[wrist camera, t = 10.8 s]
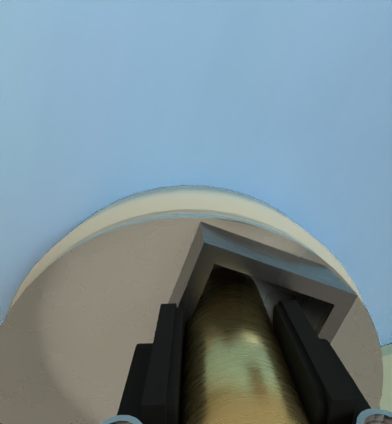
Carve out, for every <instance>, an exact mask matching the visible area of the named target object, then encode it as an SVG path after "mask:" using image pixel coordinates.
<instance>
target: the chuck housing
mask: <svg viewBox="0 0 392 424" xmlns="http://www.w3.org/2000/svg"><path fill="white" fill-rule="evenodd" d="M179 209H199V210H215V211H221V212H227V213H234V214H239V215H242V216H245V217H249V218H252V219H256V220H259V221H262V222H265V223H267V224H269V225H271V226H273V227H276V228H278V229H280V230H282V231H285V232H286V233H288V234H290V235H291V236H293V237H294V238H296V239H298V240H299V241H301V242H302V243H304V244H306V245H307V246H308V247H309V248H310V249H312V250H313V251H314V252H315V253H316V254H318V255H319V256H320V257H321V258H322V259H324V260H325V261H326V262H327V263H328V264H329V265H330V266H331V267H333V268H334V269H335V270H336V271H337V272H338V273H339V274H340V275H341V276H342V277H343V278H344V279H345V281H346V282H347V283H348V284H349V285H350V286H351V287H352V289H353V290H354V291H355V292H356V293H357V295H358V297H359V298H360V300H361V301H362V299H361V296H360V294H359V292H358V290H357V287H356V285H355V284H354V282H353V281H352V279H351V278H350V276H349V275H348V273H347V271H346V270H345V268H344V267H343V266H342V265H341V264H340V262H339V261H338V260H337V259H336V258H335V257H334V256H333V254H332V253H331V252H330V251H329V250H328V249H327V248H326V247H324V246H323V245H322V244H321V243H320V242H318V241H317V240H316V239H315V238H314V237H312V236H311V235H310V234H309V233H308V232H306V231H305V230H304V229H303V228H301V227H300V226H299V225H297V224H296V223H295V222H294V221H292V220H291V219H290V218H289V217H287V216H286V215H284V214H283V213H281V212H280V211H278V210H276V209H275V208H273V207H272V206H270V205H268V204H266V203H264V202H262V201H259V200H257V199H255V198H253V197H250V196H248V195H245V194H241V193H238V192H234V191H231V190H228V189H222V188H215V187H209V186H187V185H181V186H171V187H162V188H156V189H152V190H148V191H144V192H140V193H136V194H133V195H131V196H128V197H126V198H123V199H121V200H118V201H116V202H114V203H112V204H110V205H108V206H106V207H105V208H103V209H101V210H99V211H97V212H96V213H94V214H93V215H92V216H90V217H89V218H88V219H86V220H85V221H84V222H82V223H81V224H80V225H79V226H77V227H76V228H75V229H74V230H72V231H71V232H70V233H69V234H68V235H66V236H65V237H64V238H63V239H62V240H60V241H59V242H58V243H57V244H56V245H54V246H53V247H52V248H51V249H50V250H49V251H48V252H47V253H46V254H45V255H44V256H43V257H42V258H41V259H40V260H39V261H38V262H37V263H36V264H35V266H34V267H33V268H32V270H31V271H30V272H29V274H28V275H27V277H26V278H25V279H24V281H23V282H22V283H21V285H20V287H19V289H18V291H17V293H16V295H15V297H14V299H13V301H12V303H11V305H10V308H9V311H10V309H11V307H12V306H13V304H14V303H15V302H16V300H17V299H18V298H19V297H20V295H21V294H22V293H23V291H24V290H25V289H26V287H27V286H28V285H29V284H30V283H31V282H32V281H33V280H34V279H36V278H37V277H38V276H39V275H40V274H41V273H42V272H43V271H44V270H45V269H46V268H47V267H48V266H49V265H50V264H51V263H52V262H53V261H54V260H55V259H56V258H57V257H59V256H60V255H61V254H62V253H63V252H65V251H66V250H67V249H69V248H70V247H72V246H73V245H74V244H76V243H77V242H79V241H80V240H81V239H83V238H85V237H87V236H89V235H91V234H93V233H94V232H96V231H98V230H100V229H102V228H104V227H106V226H109V225H112V224H114V223H117V222H120V221H122V220H125V219H128V218H131V217H135V216H140V215H144V214H148V213H153V212H159V211H169V210H179ZM362 303H363V301H362ZM363 305H364V303H363ZM9 311H8V313H9Z"/></svg>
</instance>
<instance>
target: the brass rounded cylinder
mask: <svg viewBox="0 0 392 424" xmlns="http://www.w3.org/2000/svg"><path fill="white" fill-rule="evenodd" d="M181 424H310V422H309V419H308V417H307V414H306V412H305V409H304V406H303V404H302V401H301V399H300V396H299V393H298V391H297V388H296V386H295V383H294V380H293V378H292V375H291V373H290V370H289V367H288V365H287V362H286V360H285V357H284V354H283V352H282V349H281V347H280V344H279V341H278V339H277V336H276V334H275V331H274V328H273V326H272V323H271V320H270V318H269V315H268V313H267V310H266V307H265V305H264V302H263V300H262V297H261V294H260V292H259V289H258V287H257V285H256V283H255V282H254V281H253V279H252V278H251V277H249V276H248V275H246V274H243V273H240V272H237V271H234V270H231V269H228V268H216V269H212V271H211V273H210V276H209V278H208V280H207V283H206V285H205V287H204V290H203V292H202V294H201V297H200V299H199V301H198V304H197V306H196V308H195V311H194V313H193V315H192V318H191V320H190V321H189V323H188V326H187V328H186V332H185V347H184V366H183V386H182V406H181Z"/></svg>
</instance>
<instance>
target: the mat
mask: <svg viewBox="0 0 392 424" xmlns="http://www.w3.org/2000/svg"><path fill="white" fill-rule="evenodd" d="M381 352H382V360H383V374H384V375H383V387H382V396H381V400H380V404H379V408H378V409H382V410H387V411H389V412H392V344H388V345H385V346H381Z"/></svg>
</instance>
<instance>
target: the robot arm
mask: <svg viewBox="0 0 392 424" xmlns="http://www.w3.org/2000/svg"><path fill="white" fill-rule="evenodd" d="M272 326H273V328H274V331H275V334H276V336H277V339H278V341H279V344H280V347H281V349H282V352H283V354H284V357H285V360H286V362H287V365H288V367H289V370H290V373H291V375H292V378H293V380H294V383H295V386H296V388H297V391H298V393H299V396H300V399H301V401H302V404H303V406H304V409H305V412H306V414H307V417H308V419H309V422H310V424H392V412H389V411H387V410H382V409H377V408H374V409H372V408H371V407H370V405H369V404H368V402H367V401H366V399H365V398H364V396H363V394H362V393H361V391H360V390H359V388H358V387H357V385H356V383H355V382H354V380H353V379H352V377H351V376H350V374H349V373H348V371H347V369H346V368H345V366H344V365H343V363H342V362H341V360H340V358H339V357H338V355H337V354H336V352H335V351H334V349H333V348H332V346H331V344H330V343H329V342H328V341H327V340H326V339H319V337H318V336H317V334H316V332H315V331H314V329H313V327H312V326H311V324H310V322H309V321H308V319H307V317H306V316H305V314H304V313H303V311H302V309H301V308H300V306H299V304H298V303H297V301H296V300H280V301H279V303H278V305H274V306H273V321H272ZM183 366H184V333H183V311H182V307H177V305H176V303H168V304H161V305H160V310H159V316H158V321H157V326H156V331H155V336H154V341H153V343H140V344H137V345H136V348H135V351H134V355H133V358H132V362H131V366H130V369H129V373H128V377H127V380H126V384H125V387H124V391H123V395H122V398H121V402H120V406H119V409H118V413H117V416H114V417H110V418H109V419H107V420H105V421H103V422H101V423H100V424H181V406H182V386H183Z"/></svg>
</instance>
